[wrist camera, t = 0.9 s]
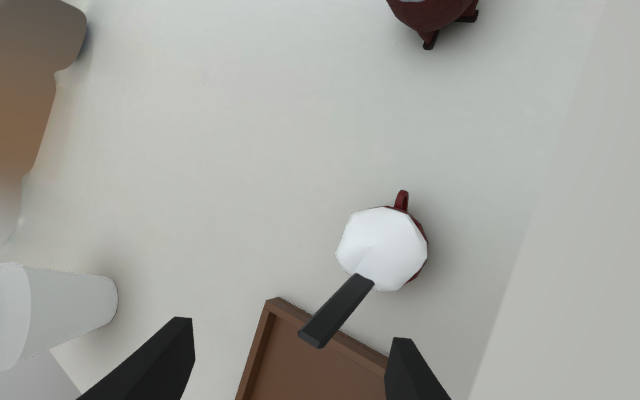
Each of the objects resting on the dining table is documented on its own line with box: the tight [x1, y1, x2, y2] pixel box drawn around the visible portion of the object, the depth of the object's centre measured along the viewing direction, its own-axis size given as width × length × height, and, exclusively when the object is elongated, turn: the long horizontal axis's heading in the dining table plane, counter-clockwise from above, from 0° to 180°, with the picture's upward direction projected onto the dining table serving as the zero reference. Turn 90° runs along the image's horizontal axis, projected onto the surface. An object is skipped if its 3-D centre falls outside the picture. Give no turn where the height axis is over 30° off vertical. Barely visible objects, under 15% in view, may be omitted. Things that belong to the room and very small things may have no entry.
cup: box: [0, 262, 118, 372], centre depth 40 cm, size 12×12×14 cm
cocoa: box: [297, 190, 428, 349], centre depth 22 cm, size 10×6×12 cm, turn 134°
